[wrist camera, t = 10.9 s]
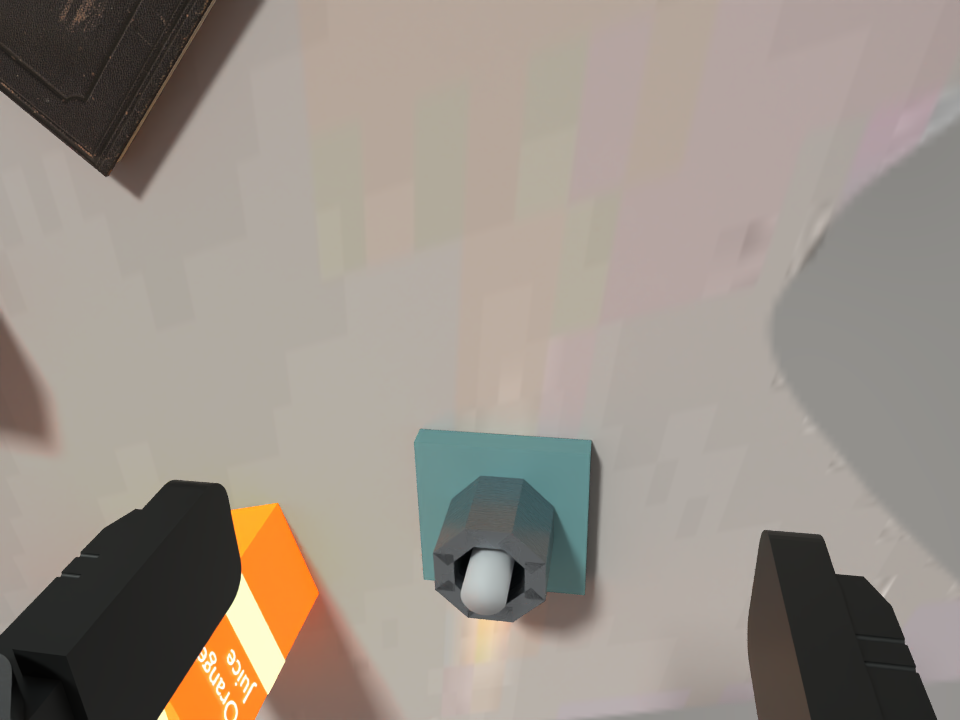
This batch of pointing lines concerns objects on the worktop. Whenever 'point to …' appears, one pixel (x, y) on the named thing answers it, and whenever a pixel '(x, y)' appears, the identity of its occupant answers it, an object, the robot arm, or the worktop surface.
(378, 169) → the worktop surface
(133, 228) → the worktop surface
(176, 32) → the hardcover book
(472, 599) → the shaft stand
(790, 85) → the worktop surface
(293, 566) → the orange juice
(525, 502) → the tube
